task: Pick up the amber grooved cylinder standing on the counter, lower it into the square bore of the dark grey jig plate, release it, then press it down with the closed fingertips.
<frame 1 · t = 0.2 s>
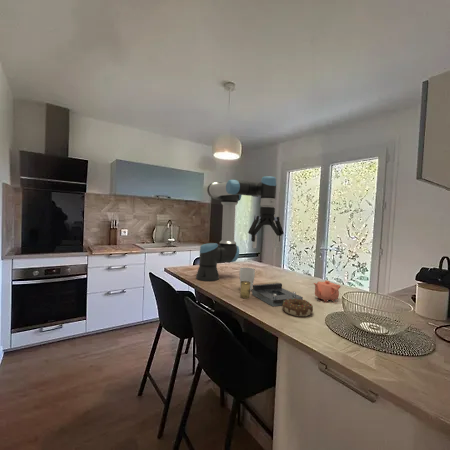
hand: (265, 248, 138), 27 cm above the counter, fingers open, 13 cm apart
donut: (296, 312, 123), on the counter
jig: (276, 298, 141), on the counter
cup: (246, 289, 156), on the counter
amber grooved cylinder: (244, 297, 141), on the counter
pink piggy bank: (326, 299, 144), on the counter
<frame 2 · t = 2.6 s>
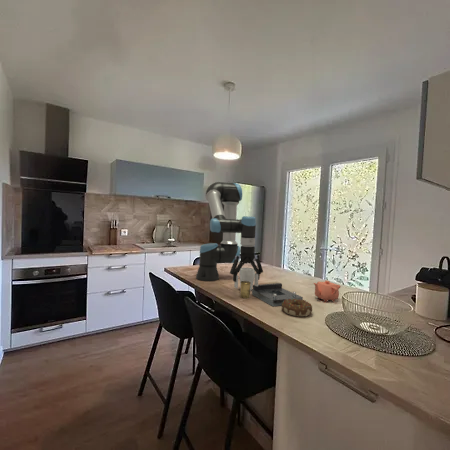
hand: (246, 286, 141), 6 cm above the counter, fingers open, 11 cm apart
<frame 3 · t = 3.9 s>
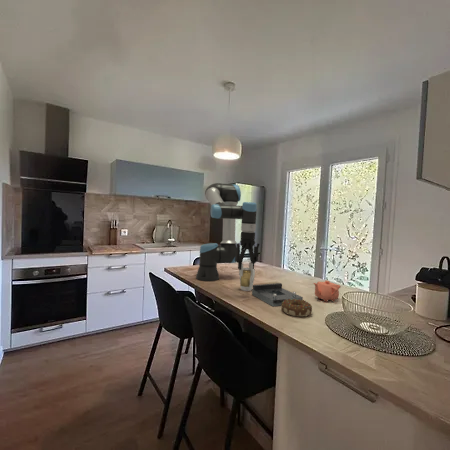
hand: (245, 275, 141), 12 cm above the counter, fingers closed on amber grooved cylinder, 5 cm apart
amber grooved cylinder: (244, 285, 141), point 6 cm above the counter, touching gripper
everything else where it was.
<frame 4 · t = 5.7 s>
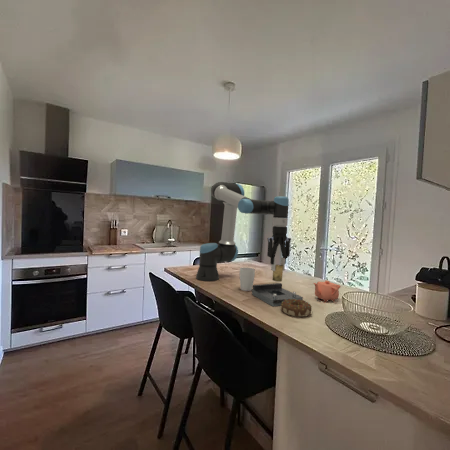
hand: (277, 270, 140), 15 cm above the counter, fingers closed on amber grooved cylinder, 5 cm apart
amber grooved cylinder: (277, 280, 140), point 10 cm above the counter, touching gripper
when the fingers open (5 cm above the counter, at t = 7.6 s): amber grooved cylinder stays where it is, resting in jig.
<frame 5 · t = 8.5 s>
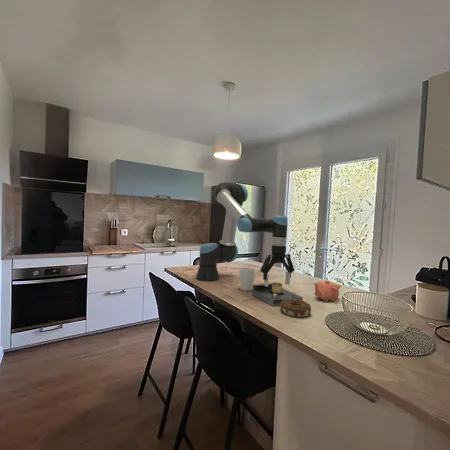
hand: (276, 285, 141), 7 cm above the counter, fingers open, 13 cm apart
amber grooved cylinder: (276, 298, 141), resting in jig
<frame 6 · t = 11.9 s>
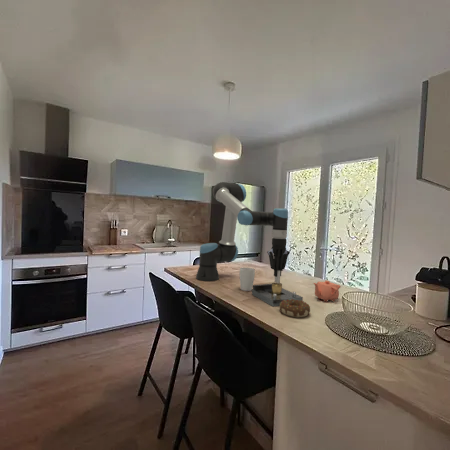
hand: (277, 282, 141), 9 cm above the counter, fingers closed
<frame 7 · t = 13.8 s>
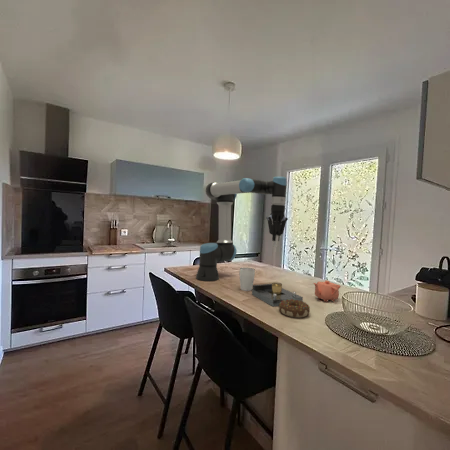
hand: (275, 246, 150), 26 cm above the counter, fingers closed
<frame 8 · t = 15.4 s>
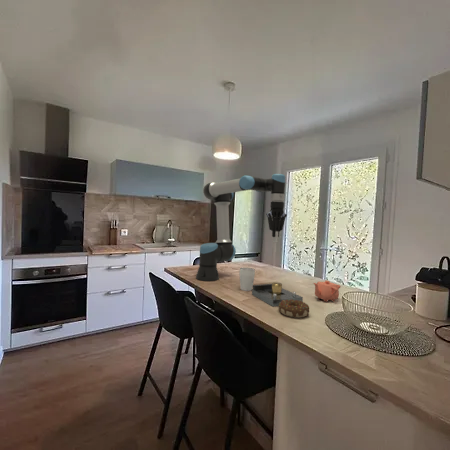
hand: (275, 242, 153), 28 cm above the counter, fingers closed
at the end: amber grooved cylinder 0.5 cm off-centre on the jig, point 0.0 cm above the jig's base; amber grooved cylinder tilted 0°; the gripper is holding nothing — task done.
